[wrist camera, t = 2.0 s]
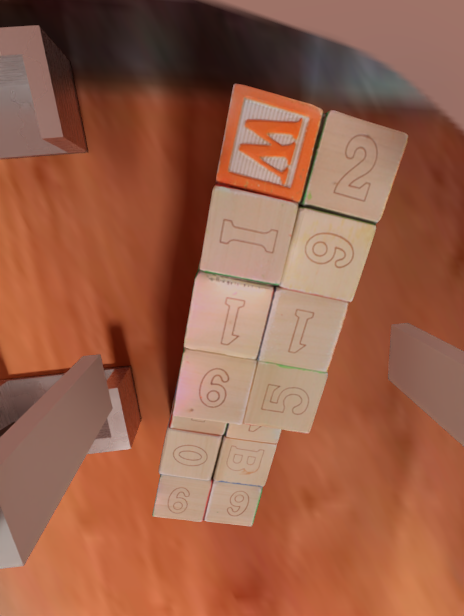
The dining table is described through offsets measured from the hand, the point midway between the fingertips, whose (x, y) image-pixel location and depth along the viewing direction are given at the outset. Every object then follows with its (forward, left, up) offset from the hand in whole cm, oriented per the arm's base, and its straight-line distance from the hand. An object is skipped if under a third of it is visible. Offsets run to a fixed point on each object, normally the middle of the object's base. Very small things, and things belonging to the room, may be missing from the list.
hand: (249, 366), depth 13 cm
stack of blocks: (0, 0, -11) cm, 11 cm away
